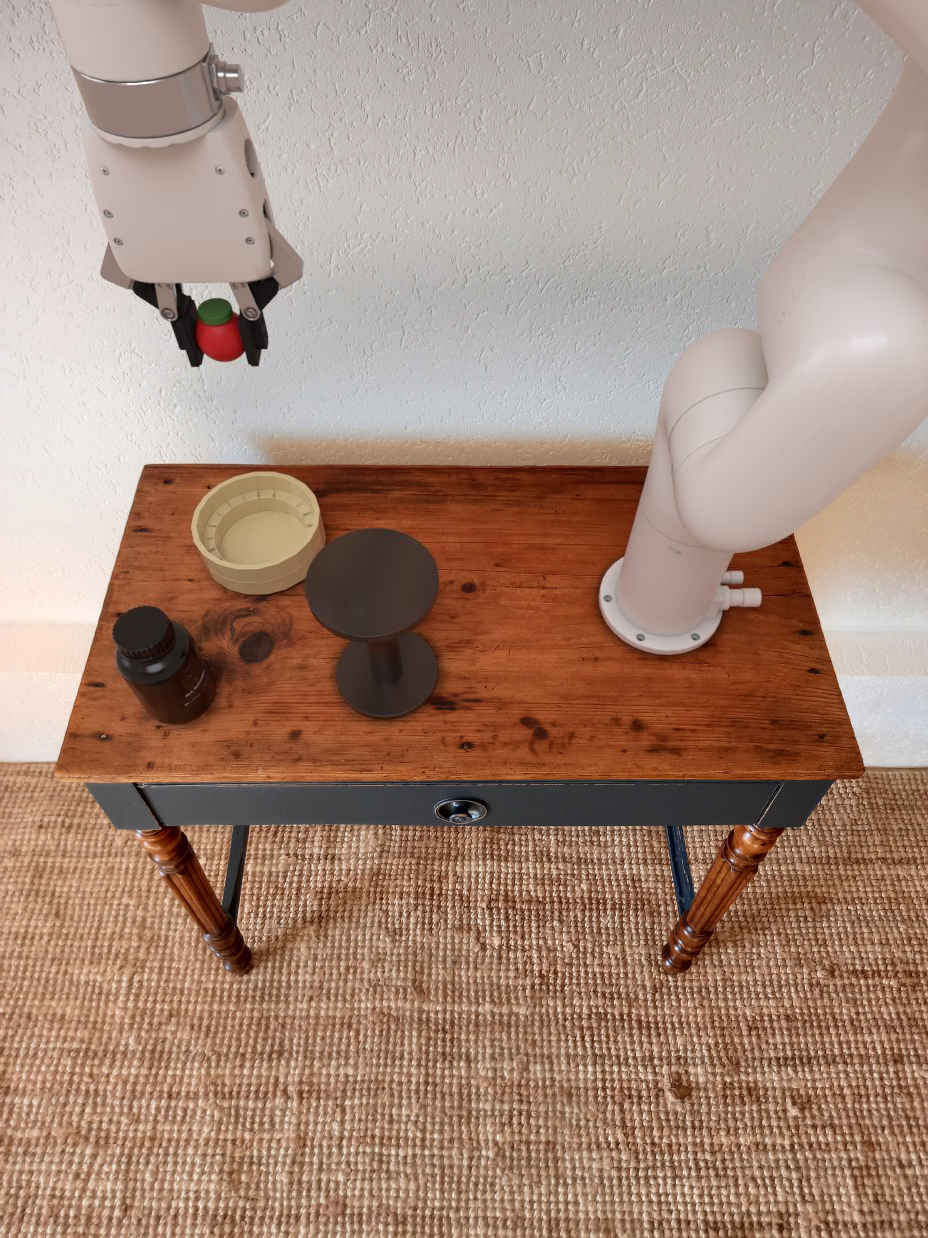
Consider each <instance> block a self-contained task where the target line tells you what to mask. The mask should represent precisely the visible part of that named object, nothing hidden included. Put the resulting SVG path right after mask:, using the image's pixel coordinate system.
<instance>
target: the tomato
mask: <svg viewBox="0 0 928 1238" xmlns="http://www.w3.org/2000/svg"><path fill="white" fill-rule="evenodd" d="M197 310H198V314H199V319H198V321H197V324H196V328H195V335H196V340H197V343H198V345H199V347H200V349H201V350H202V351H203V353H204V355H206V357H208V358H209V359H211V360H213V361H216V362H219V363H230V362H234V361H236V360H238V359H239V358H240V357H242V355H244V353H245V350H244V346H243V343H242V339H241V335H240V331H239V328H238V318H239V313H237V312H235V311H234V310H233V306H232V304H231V302H230V301H229V300H227V299H225V298H221V297H212V298H208V299H206V300H204V301H201V303H200V304H199V305H198V306H197Z"/></svg>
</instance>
